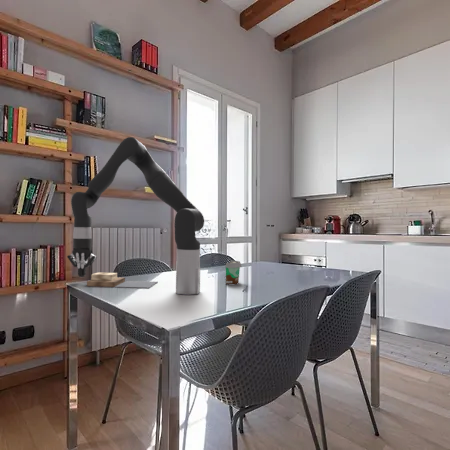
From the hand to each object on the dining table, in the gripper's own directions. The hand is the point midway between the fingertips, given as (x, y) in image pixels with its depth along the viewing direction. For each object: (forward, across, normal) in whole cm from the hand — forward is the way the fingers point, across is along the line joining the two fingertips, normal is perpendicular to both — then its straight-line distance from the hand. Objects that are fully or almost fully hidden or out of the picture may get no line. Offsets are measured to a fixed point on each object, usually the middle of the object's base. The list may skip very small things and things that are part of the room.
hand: (81, 276), depth 145 cm
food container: (+3, -67, -12) cm, 68 cm away
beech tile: (+1, -10, 0) cm, 10 cm away
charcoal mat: (+3, -25, 0) cm, 25 cm away
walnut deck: (+3, -11, 0) cm, 12 cm away
